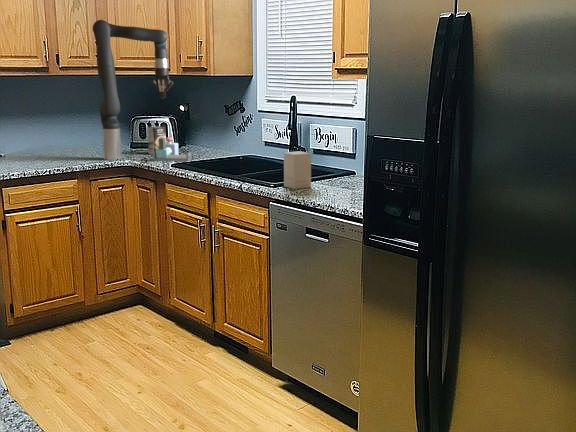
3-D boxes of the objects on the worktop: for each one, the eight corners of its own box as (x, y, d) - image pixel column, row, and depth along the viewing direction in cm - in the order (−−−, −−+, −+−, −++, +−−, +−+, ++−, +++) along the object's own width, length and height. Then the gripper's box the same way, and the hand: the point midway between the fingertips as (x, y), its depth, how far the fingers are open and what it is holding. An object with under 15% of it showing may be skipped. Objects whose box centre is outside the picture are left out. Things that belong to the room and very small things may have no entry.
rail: (153, 160, 353) (153, 152, 352) (157, 159, 358) (156, 151, 357) (188, 161, 350) (187, 153, 349) (191, 159, 356) (191, 151, 355)
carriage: (156, 157, 353) (155, 138, 350) (159, 156, 357) (158, 137, 355) (166, 157, 352) (165, 138, 349) (169, 156, 357) (168, 137, 354)
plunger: (166, 147, 363) (165, 138, 362) (167, 147, 366) (167, 137, 365) (171, 147, 362) (171, 138, 361) (173, 147, 365) (172, 137, 364)
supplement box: (311, 187, 275) (312, 153, 272) (294, 189, 271) (294, 154, 267) (300, 184, 283) (300, 150, 279) (283, 186, 279) (283, 152, 275)
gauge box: (161, 158, 362) (160, 144, 360) (165, 156, 369) (164, 142, 368) (174, 158, 361) (174, 144, 359) (178, 156, 368) (178, 142, 366)
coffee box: (155, 155, 374) (154, 127, 370) (148, 154, 378) (146, 127, 374) (167, 153, 381) (165, 126, 378) (159, 152, 385) (158, 126, 381)
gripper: (175, 67, 359) (176, 98, 363) (152, 67, 361) (154, 98, 364) (170, 67, 351) (172, 99, 355) (147, 67, 353) (149, 98, 357)
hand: (162, 98), depth 360 cm, fingers closed
